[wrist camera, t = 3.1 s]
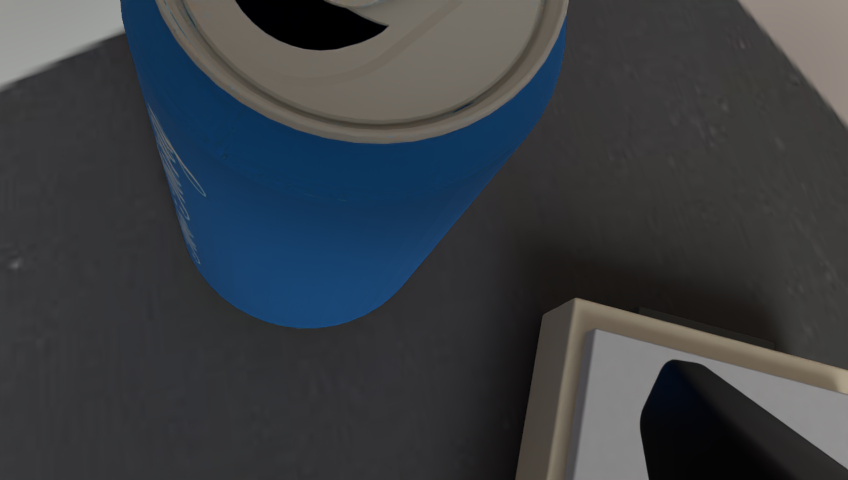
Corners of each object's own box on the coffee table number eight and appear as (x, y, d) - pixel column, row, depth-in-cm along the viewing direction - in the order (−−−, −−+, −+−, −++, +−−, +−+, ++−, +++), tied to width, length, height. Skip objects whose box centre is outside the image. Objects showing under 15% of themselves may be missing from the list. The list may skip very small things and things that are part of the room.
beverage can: (140, 158, 21) (16, -199, 10) (357, 73, 23) (460, -306, 12) (247, 377, 20) (246, 260, 9) (463, 269, 22) (686, 60, 11)
